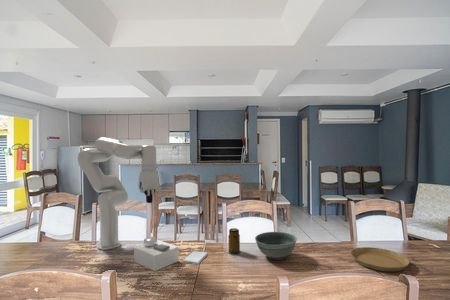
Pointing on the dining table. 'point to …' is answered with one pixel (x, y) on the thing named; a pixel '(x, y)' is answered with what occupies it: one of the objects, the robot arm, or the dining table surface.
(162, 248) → the latch bar
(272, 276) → the dining table surface
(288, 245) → the bowl
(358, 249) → the plant saucer
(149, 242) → the pin
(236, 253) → the condiment
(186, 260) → the hard drive
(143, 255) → the block
